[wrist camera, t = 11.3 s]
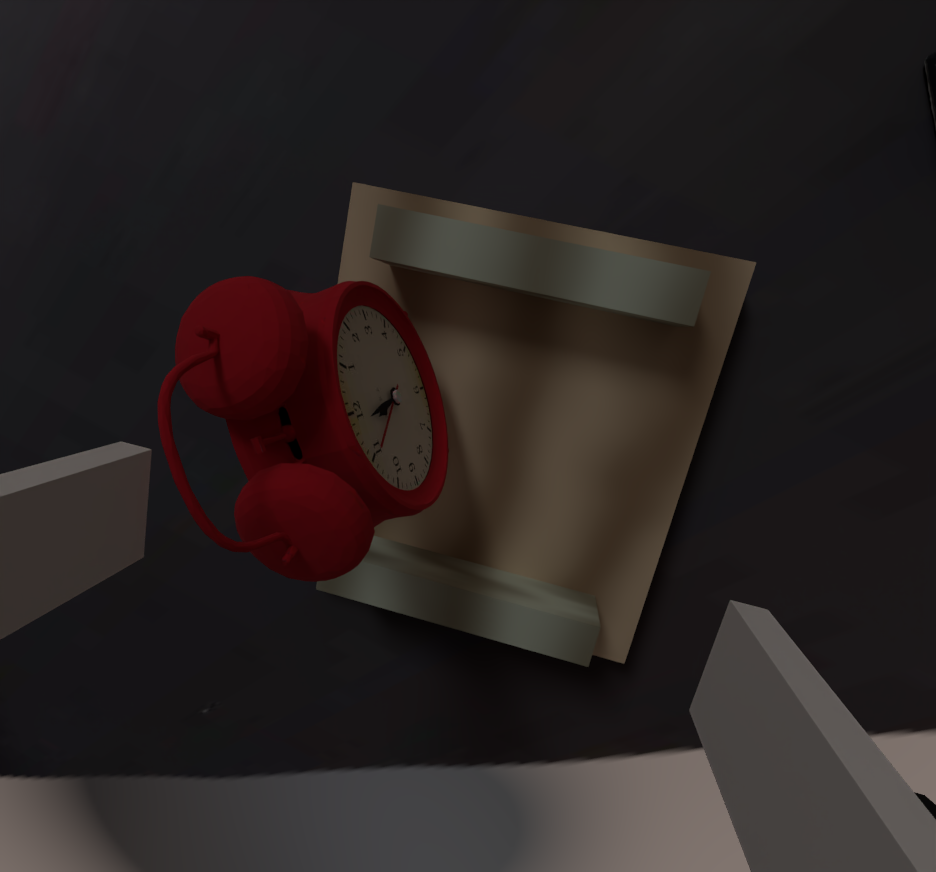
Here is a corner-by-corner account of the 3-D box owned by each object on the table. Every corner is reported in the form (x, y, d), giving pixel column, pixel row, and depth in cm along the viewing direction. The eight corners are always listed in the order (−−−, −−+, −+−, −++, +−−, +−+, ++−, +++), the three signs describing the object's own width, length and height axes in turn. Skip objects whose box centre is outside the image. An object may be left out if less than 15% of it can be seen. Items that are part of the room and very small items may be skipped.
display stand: (314, 552, 32) (267, 596, 27) (370, 195, 27) (327, 162, 22) (618, 636, 30) (633, 702, 25) (736, 268, 25) (786, 253, 20)
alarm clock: (469, 474, 27) (449, 626, 12) (356, 505, 28) (207, 688, 13) (409, 276, 25) (303, 179, 11) (291, 313, 26) (34, 269, 11)
